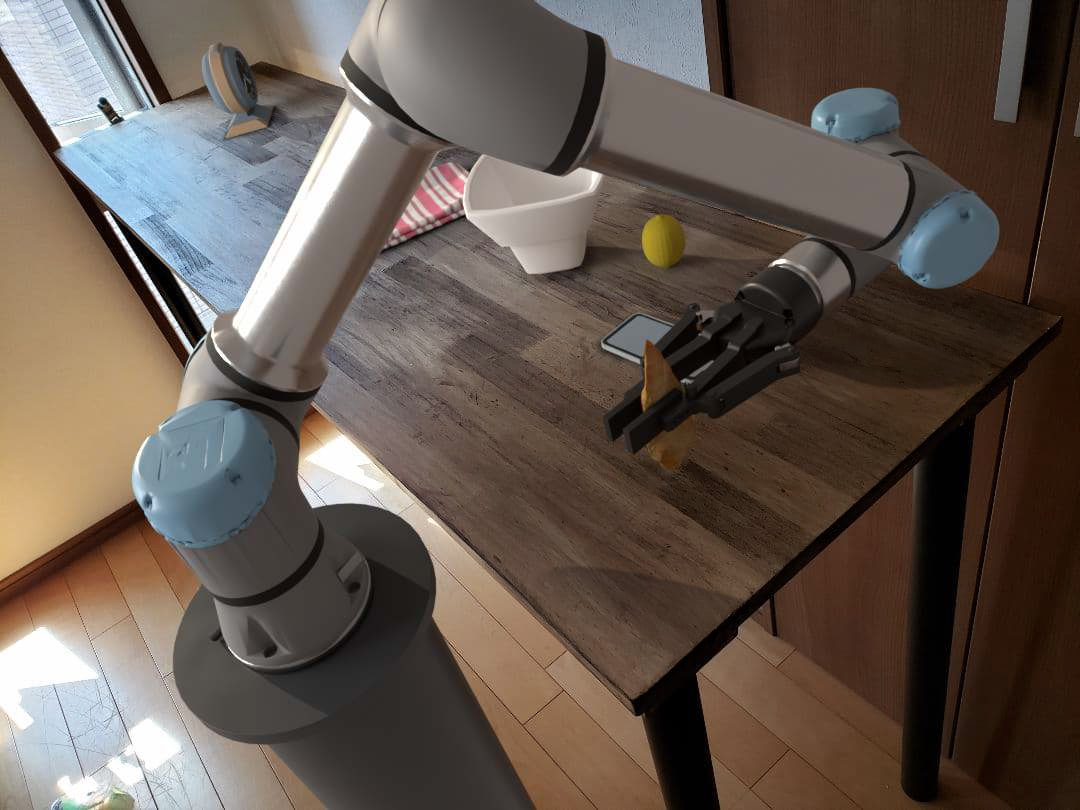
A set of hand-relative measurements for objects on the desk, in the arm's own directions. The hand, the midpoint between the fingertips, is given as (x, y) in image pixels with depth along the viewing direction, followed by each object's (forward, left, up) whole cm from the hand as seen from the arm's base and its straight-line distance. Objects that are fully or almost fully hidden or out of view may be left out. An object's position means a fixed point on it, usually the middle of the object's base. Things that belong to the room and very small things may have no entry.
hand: (618, 435), depth 73 cm
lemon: (+34, +28, -12) cm, 45 cm away
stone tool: (+5, 0, -8) cm, 10 cm away
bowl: (+27, +43, -12) cm, 52 cm away
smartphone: (+21, +16, -12) cm, 29 cm away
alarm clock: (+27, +153, -12) cm, 156 cm away
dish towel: (+24, +76, -12) cm, 81 cm away
